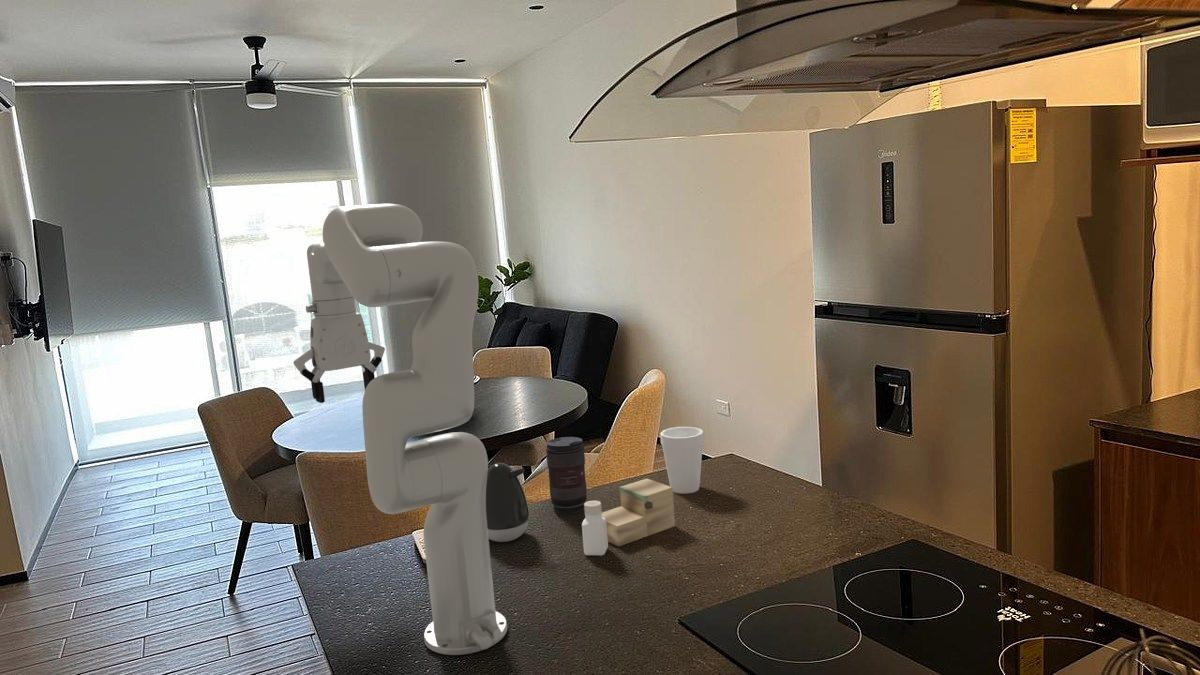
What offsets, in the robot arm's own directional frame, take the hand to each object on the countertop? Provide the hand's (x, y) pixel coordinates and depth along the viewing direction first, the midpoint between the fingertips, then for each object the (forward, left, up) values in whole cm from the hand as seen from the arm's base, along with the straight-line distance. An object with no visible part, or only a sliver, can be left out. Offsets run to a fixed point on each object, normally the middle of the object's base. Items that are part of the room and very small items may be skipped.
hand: (345, 396), depth 159 cm
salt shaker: (-34, -32, -31) cm, 56 cm away
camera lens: (-11, -42, -31) cm, 53 cm away
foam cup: (-20, -67, -31) cm, 76 cm away
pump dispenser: (-15, -24, -31) cm, 42 cm away
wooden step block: (-31, -44, -31) cm, 62 cm away
